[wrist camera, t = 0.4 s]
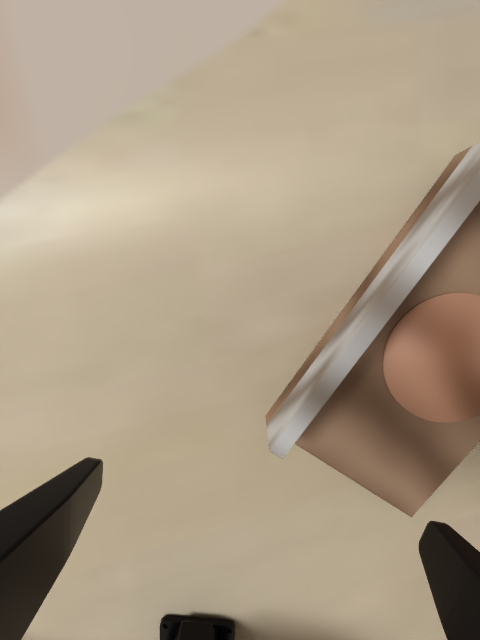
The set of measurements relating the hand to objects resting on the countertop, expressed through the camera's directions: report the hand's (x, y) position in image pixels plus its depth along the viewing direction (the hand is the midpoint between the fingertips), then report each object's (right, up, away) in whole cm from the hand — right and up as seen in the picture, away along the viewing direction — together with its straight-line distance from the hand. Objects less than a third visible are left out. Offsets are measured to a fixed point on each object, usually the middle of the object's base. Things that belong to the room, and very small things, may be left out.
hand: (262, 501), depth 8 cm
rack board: (+13, +3, +14) cm, 19 cm away
